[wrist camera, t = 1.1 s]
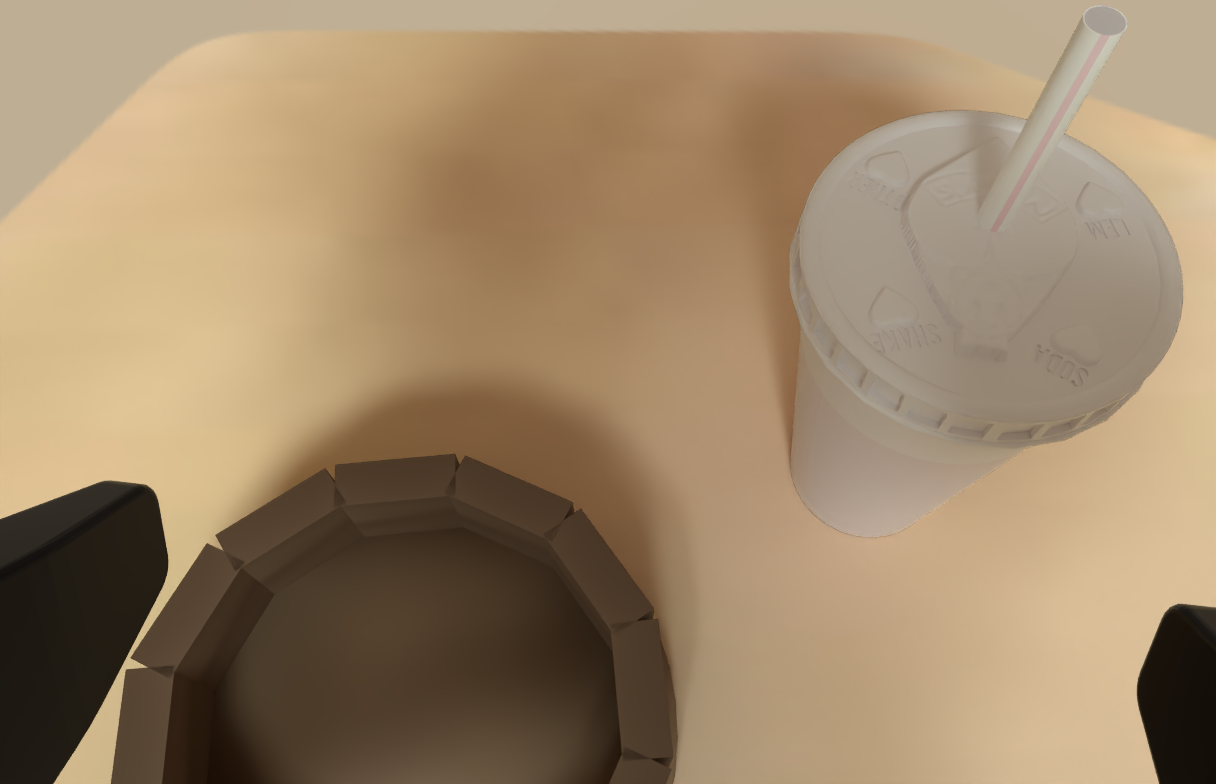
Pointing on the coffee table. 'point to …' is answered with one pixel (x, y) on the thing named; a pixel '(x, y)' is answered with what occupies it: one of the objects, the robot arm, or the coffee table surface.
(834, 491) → the smoothie
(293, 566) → the bowl
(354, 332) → the coffee table surface
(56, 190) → the coffee table surface
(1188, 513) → the coffee table surface
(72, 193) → the coffee table surface
